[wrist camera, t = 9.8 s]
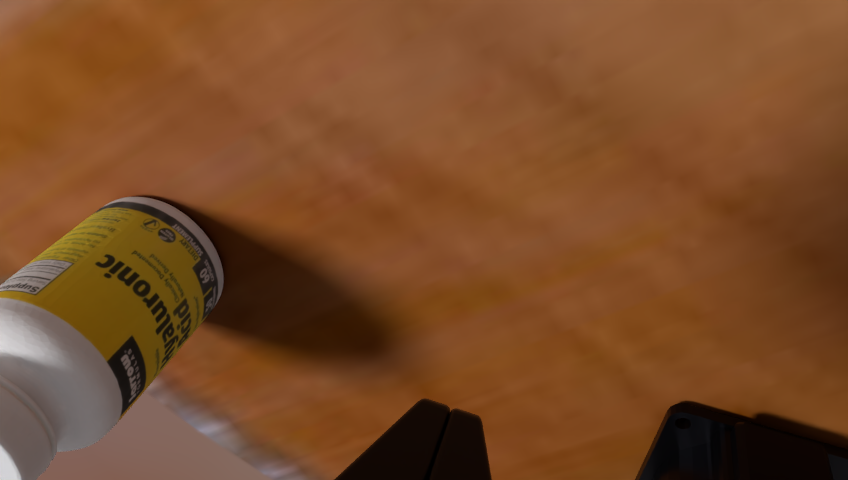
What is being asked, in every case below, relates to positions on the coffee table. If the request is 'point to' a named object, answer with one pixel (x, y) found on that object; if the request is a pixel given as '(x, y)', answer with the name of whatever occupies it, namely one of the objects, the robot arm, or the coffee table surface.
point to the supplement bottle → (97, 326)
